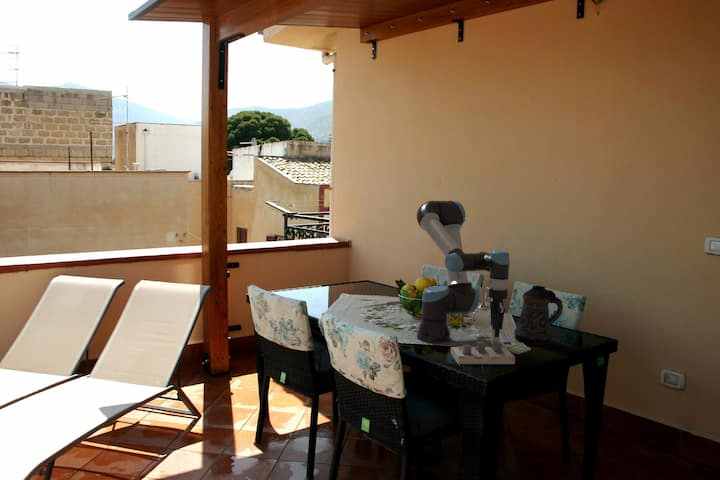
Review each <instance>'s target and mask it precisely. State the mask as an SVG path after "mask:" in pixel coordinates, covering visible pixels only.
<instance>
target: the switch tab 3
mask: <svg viewBox="0 0 720 480" xmlns="http://www.w3.org/2000/svg"><path fill="white" fill-rule="evenodd" d="M493 350H494V351H495V352H496V353H502V351H501V350H502V343H501V342H493Z"/></svg>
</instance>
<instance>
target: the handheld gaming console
mask: <svg viewBox="0 0 720 480" xmlns="http://www.w3.org/2000/svg"><path fill="white" fill-rule="evenodd" d="M499 342H501V343H502V347H505V348H506V349H507V350H508V351H509V352H511V353H512V354H514V355H520V354H523V353H526V352H530V351H531V350H532V348H531V347H528V346H525V345H522V344H518V343H515V342H511V341H507V340H503V339H501V340H499ZM491 345H492V346H493V344H492V342H491V344H490V346H491ZM492 346H491V347H492Z"/></svg>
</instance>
